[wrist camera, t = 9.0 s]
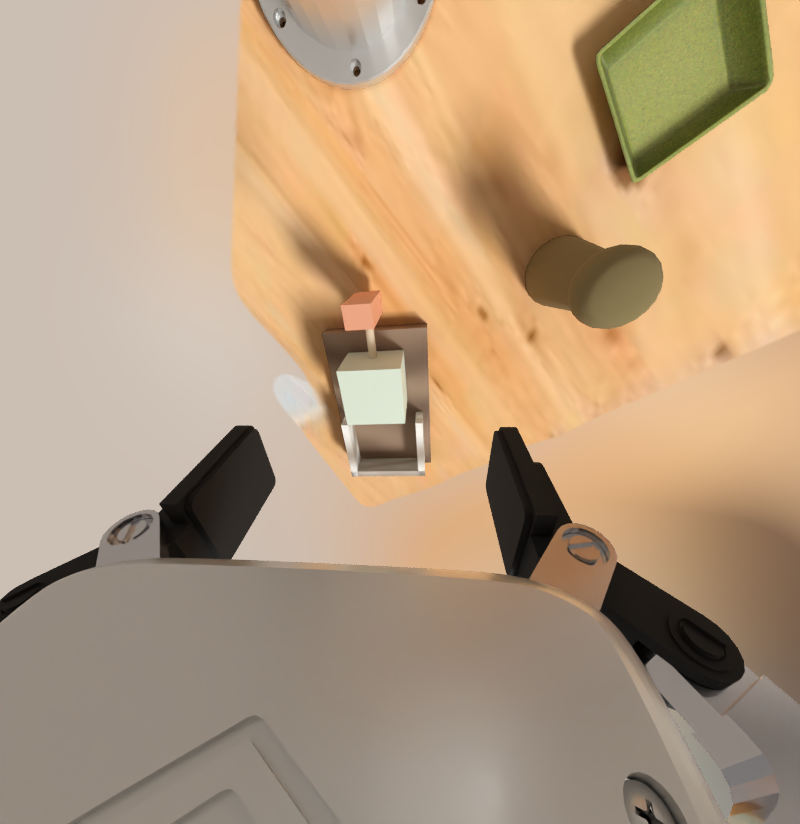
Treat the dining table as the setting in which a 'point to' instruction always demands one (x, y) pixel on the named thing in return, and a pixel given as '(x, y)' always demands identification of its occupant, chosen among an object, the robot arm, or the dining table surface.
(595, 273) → the cork
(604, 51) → the green tray
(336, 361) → the shelf
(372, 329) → the joined block piece
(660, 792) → the robot arm
